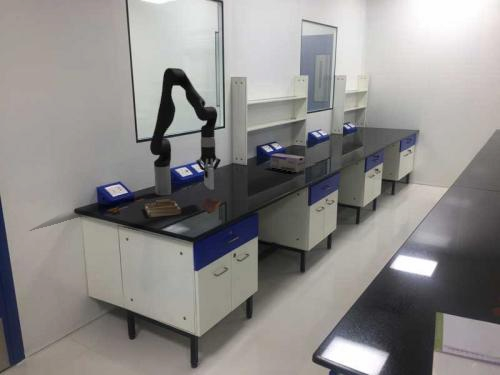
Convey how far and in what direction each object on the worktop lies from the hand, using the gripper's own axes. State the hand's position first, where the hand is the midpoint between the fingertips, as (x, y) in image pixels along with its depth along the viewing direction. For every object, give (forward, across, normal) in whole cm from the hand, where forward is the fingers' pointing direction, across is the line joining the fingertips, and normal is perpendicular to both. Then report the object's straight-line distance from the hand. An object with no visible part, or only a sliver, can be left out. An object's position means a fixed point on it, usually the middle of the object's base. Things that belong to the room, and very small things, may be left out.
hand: (208, 177), depth 227 cm
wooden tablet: (+17, 0, 0) cm, 17 cm away
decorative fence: (+17, +41, -14) cm, 46 cm away
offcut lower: (+15, +26, 0) cm, 30 cm away
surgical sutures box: (+17, -82, -73) cm, 111 cm away
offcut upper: (+13, +25, 0) cm, 28 cm away
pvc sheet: (+5, 0, 0) cm, 5 cm away
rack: (+16, +26, +5) cm, 31 cm away
